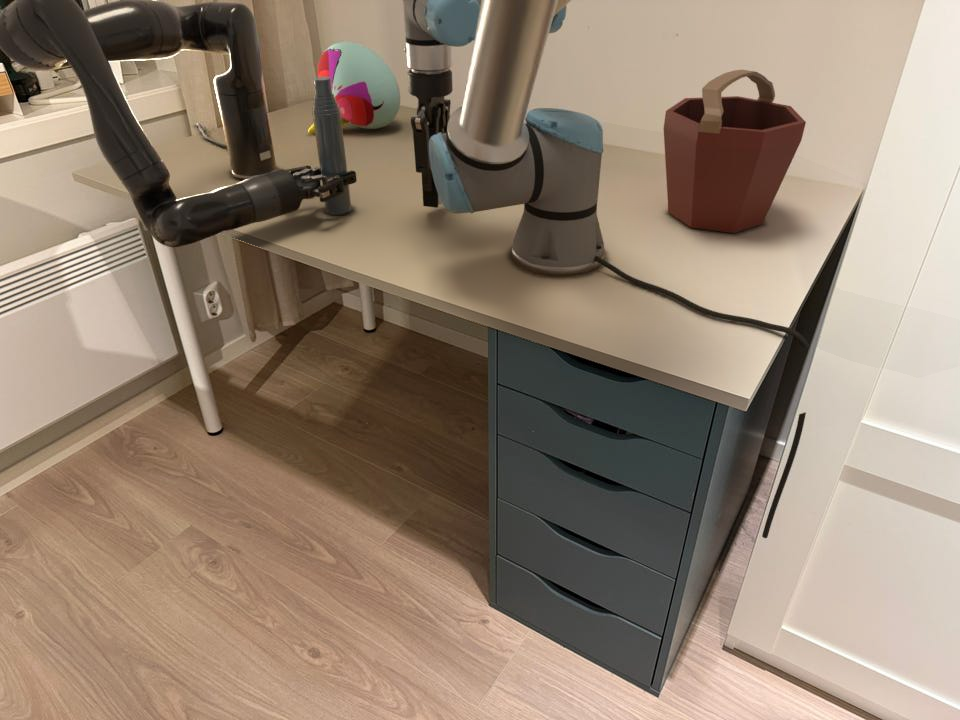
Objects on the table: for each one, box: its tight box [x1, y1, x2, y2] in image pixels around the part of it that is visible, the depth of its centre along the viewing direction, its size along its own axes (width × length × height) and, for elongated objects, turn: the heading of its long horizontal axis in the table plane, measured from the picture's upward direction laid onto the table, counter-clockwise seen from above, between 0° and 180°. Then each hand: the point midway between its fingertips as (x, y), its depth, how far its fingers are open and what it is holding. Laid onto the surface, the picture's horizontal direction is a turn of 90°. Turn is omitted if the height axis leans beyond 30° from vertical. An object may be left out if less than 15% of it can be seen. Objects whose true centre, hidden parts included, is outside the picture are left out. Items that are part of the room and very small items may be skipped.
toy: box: [307, 41, 401, 134], centre depth 176 cm, size 24×24×20 cm
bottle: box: [311, 76, 352, 216], centre depth 128 cm, size 5×5×24 cm
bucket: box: [663, 69, 807, 234], centre depth 125 cm, size 24×22×25 cm
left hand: (345, 172), depth 133 cm, fingers closed on bottle, 5 cm apart
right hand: (435, 201), depth 131 cm, fingers closed on cap, 4 cm apart
